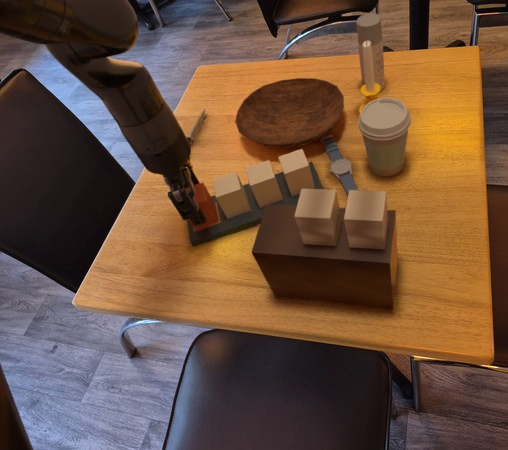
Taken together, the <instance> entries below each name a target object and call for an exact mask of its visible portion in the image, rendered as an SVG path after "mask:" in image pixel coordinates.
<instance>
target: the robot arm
mask: <svg viewBox="0 0 508 450" xmlns="http://www.w3.org/2000/svg"><path fill="white" fill-rule="evenodd" d="M139 31H140V25H139V20H138V17H137V14H136V12H135V10H134V8H133V6H132V5H131V4H130V1H129V0H0V35H3V36H7V37H10V38H14V39H18V40H21V41H23V42H28V43H32V44H37V45H44V46H45V48H46V50H47V51H48V52H49V54H50V55H51V56H52V57H53V58H54V59H55V60H56V61H57V62H58V63H59V64H60V65H61V66H62V67H63V68H64V69H65V70H66V71H67V72H68V73H70V74H71V75H72V76H74V77H75V78H76V79H77V80H78V81H79V82H81V83H82V85H83V86H85V87H86V88H87V89H88V90H89V91H90V92H92V93H93V94H95V95H96V96H97V97H98V98H99V99H100V101H101V102H102V104H103V105H104V106H105V108H106V109H107V110H108V112H109V113H110V116H111V117H112V118H113V120H114V121H115V122H116V124H117V126H118V129H119V130H120V132H121V134H122V136H123V137H124V139H125V140H126V142H127V143H128V145H129V146H130V148H131V149H132V151H133V153H135V155H136V156H137V157H138V159H139V161H140V162H141V164H142V165H143V166H144V168H145V170H147V171H148V172H149V173H152V174H153V175H154V174H155V175H160V176H162V177H163V180H164V183H165V185H166V186H168V188H169V191H167V197H168V199H169V201H170V202H171V203H172V205H173V206H174V208H175V210H176V211H177V213H178V214H179V216H180V217H181V219H182V220H183V221H187V219H190V220H191V222H192V223H193V225H194V226H198V225H201V224H204V223H206V217H205V216H204V214H203V212H202V211H201V209H200V207H199V205H198V203H197V201H196V198H195V194H196V190H195V187H194V185H196V184H199V183H201V182H200V181H199V179H198V177H197V175H196V174H195V172H194V169H193V168H194V167H193V164H192V162H191V154H192V145H191V143H189V141H188V140H187V136H186V134H185V131H184V130H183V128H182V126H181V125H180V123H179V121H178V119H177V117H176V115H175V113H174V112H173V110H172V108H171V107H170V105H169V104H168V103H167V102H166V100H165V99H164V97H163V95H162V92H161V91H160V90H159V87H158V86H157V84H156V83H155V80H154V79H153V77H152V75H151V74H150V71H149V70H148V69H147V68H146V66H145V65H143V64H142V63H140V62H138V61H134V60H127V59H126V60H125V59H117V58H113V57H115V56H120V55H123V54H125V53H127V52H129V51H130V50H131V49H132V48H133V47H134V46H135V44H136V43H137V41H138V38H139ZM188 187H189V188H190V192H188V191H187V190H186V188H188ZM24 425H25V424H24V423H23V419H22V416H21V414H20V412H19V409H18V406H17V404H16V400H15V399H14V396H13V393H12V389H11V388H10V385H9V382H8V380H7V378H6V375H5V371H4V369H3V366H2V364H1V363H0V450H34V446H33V445H32V442H31V440H30V438H29V435H28V433H27V430H26V427H25V426H24Z"/></svg>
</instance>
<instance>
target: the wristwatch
mask: <svg viewBox="0 0 508 450" xmlns="http://www.w3.org/2000/svg"><path fill="white" fill-rule="evenodd" d="M323 140H324V141H323ZM320 141H321V143H322V144H323V146H324V149H325V151H326V154H327V155H328V157H329V159H330V168H329V169H330V170H329V174H331V175H333V176H334V177H335V178H336V179H337V180H340V182H341V184H342V186H343V189H344V191H345V193H346V195H347V196H348V194H349V190H359V189H358V186H357V185H356V182H355V180H354V178H353V164H352V162H351V161H350V160H348V159H346V158H345V156H344V157H343V155H342V153H341V151H340V147H339V146H338V144H337V143H336V141H335V138H334V136H333V134H328V135H327V134H325V135H324V136H322V137H321V138H320Z"/></svg>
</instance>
